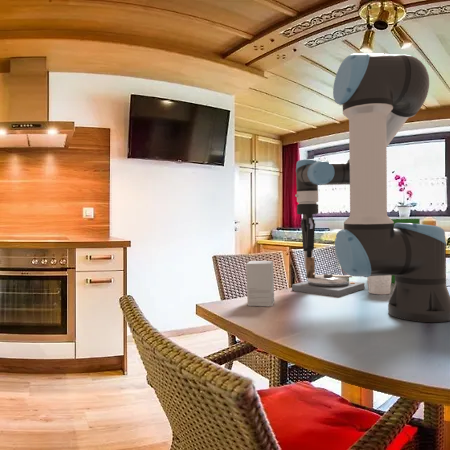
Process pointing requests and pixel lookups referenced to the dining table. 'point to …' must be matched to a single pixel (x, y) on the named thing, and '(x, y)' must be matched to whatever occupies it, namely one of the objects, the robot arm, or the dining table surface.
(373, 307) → the dining table surface
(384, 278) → the white cup
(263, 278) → the supplement box
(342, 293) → the dial base
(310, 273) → the capstan dial
